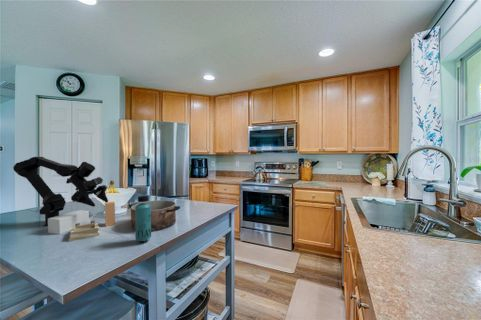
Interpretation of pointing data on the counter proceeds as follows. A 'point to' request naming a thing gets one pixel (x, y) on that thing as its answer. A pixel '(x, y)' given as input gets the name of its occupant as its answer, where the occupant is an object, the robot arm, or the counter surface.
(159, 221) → the cooking pot
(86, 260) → the counter surface
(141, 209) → the beverage bottle
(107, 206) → the block
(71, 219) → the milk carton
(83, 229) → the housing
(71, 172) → the robot arm
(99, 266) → the counter surface
